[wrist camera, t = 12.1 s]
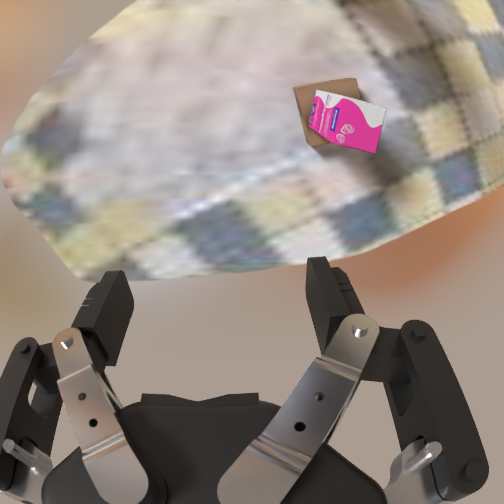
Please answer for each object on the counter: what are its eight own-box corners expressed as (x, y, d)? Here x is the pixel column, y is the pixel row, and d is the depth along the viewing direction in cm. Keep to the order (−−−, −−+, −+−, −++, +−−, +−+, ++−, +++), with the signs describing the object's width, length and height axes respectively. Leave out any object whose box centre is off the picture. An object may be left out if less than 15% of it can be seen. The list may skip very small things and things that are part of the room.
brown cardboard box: (292, 87, 40) (297, 88, 37) (346, 77, 39) (356, 78, 36) (305, 141, 45) (311, 146, 42) (357, 130, 44) (367, 135, 41)
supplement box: (313, 88, 37) (343, 94, 27) (351, 98, 38) (390, 108, 28) (305, 126, 40) (332, 144, 30) (343, 134, 41) (378, 155, 31)
